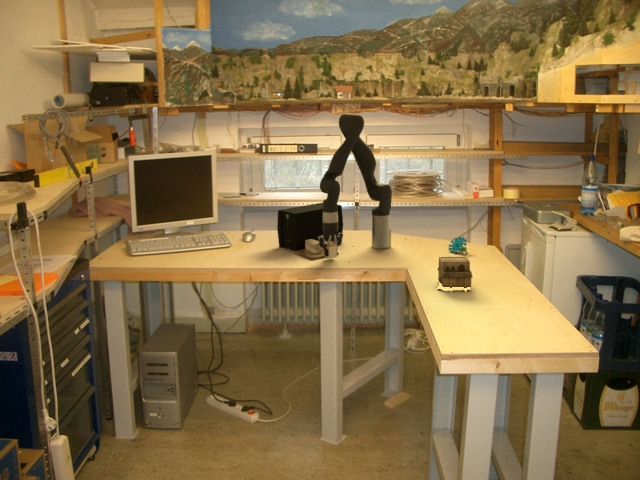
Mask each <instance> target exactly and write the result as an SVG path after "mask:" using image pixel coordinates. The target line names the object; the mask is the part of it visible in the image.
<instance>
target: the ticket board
mask: <svg viewBox="0 0 640 480" xmlns="http://www.w3.org/2000/svg"><path fill="white" fill-rule="evenodd" d="M293 252H294V254H295V255H297V256H299V257H303V258H305V259H308V260H310V261H314V260H315V261H316V260H320V259H326V258H327V257H325V255H324V248H321V247H320V244H319V241H316V240H313V239H310V240H305V249H304V250H298V251H293ZM337 256H339V252H338V251H337Z"/></svg>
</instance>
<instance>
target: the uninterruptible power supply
mask: <svg viewBox="0 0 640 480" xmlns="http://www.w3.org/2000/svg"><path fill="white" fill-rule="evenodd" d="M337 209H338V233H342V234H344V232H343V229H344V218H343V207H342V204H337ZM322 215H323V202H318V203H312V204H306V205H300V206H294V207H291V208H290V207H289V208H288V207H287V208H283V209H278V210H277V222H276V223H277V226H276V228H277V229H276V230H277V238H278V246H279V248H280V249H286V250H289V251H292V252H294V251H298V250H304V249H305V240H310V239H313V240H316V241H318V236H319V237H320V236H322V234H323V224H322ZM323 239H324V238H323ZM336 239H337V238H336ZM323 241H324V240H323ZM342 242H343V240H342V241H341V243H342Z"/></svg>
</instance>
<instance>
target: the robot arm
mask: <svg viewBox="0 0 640 480" xmlns="http://www.w3.org/2000/svg"><path fill="white" fill-rule="evenodd" d="M338 127H339V130H340V132H341V133H342V135H343V137H344V139H345V140H344V141H343V142H342V144H341V145H340V146H339V147H338V148H337V150H335V152H334V154H333V156H332V158H331V159H330V160H331V161H330V163H329V166H328V169H327V170H326V171H325V173H324V175H323V176H322V178H321V179H320V183H319V190H320V192H321V193H324V194H327V196H326V198H325V199H323V201H322V203H323V215H322V224H323V234H322V236H320V237H319V236H318V241H319V244H320V247H321V248H324V255H325V256H329V249H328V247H329V244H330V242H333V243H337V248H338V247H339V246H341V245H342V242H343V237H344V233H338V209H337V205H338V203H339V198H340V194H341V185H340V182H339V181H338V180H336V179H337V178H338V177H341V176H342V175H343V172H344V170H345V167H346V165H347V162H348V159H349V157H350V155H351V153H352V154H353V157H354V159H355V160H354V161H355V162H356V165H357V167H358V169H359V172H360V173H361V176H362V178H363V181H364V185H365V188H366V192H367V193H368V194H367V195H368V197H369V198H370V199H371V200H372V201H374V202H375V201H376V202H379V203H378V206H376V207H374V208H372V209H371V248H372V249H378V250H379V249H380V250H381V249H388V248H390V247H391V246H392V228H390V227H391V226H390V225H391V224H390V222H391V221H390V217H391V214H390V212H391V209H392V198H393V197H392V195H393V194H392V192H393V191H392V186H391V185H390V184H387V183H380V182H378V180H377V179H376V176H375V171H376V167H377V161H376V158H375V155H374V152H373V151H372V149H371V147H370V146H369V145H368V144H367V143H366V142H365V141H364V140H363V139H362V137H361V134H362V132H363V130H364V127H365V120H364V117H363V116H362V115H361V114H355V113H343V114H341V115H340V117H338ZM323 238H324V239H323ZM336 238H337V239H336ZM323 240H324V241H323ZM341 241H342V242H341Z"/></svg>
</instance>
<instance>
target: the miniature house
mask: <svg viewBox="0 0 640 480" xmlns="http://www.w3.org/2000/svg"><path fill="white" fill-rule="evenodd" d="M470 264H471V260H469V258H468V257H467V256H439V257H438V267H437V269H436V270H437V271H438V273H437V274H438V276H437V281H438V280H439V282H440V283H441V284H442V286H443V287H450V288H452V287H464V288H467V287H471V288H472V278H474V276H473V273H472V271H471V265H470Z"/></svg>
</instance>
